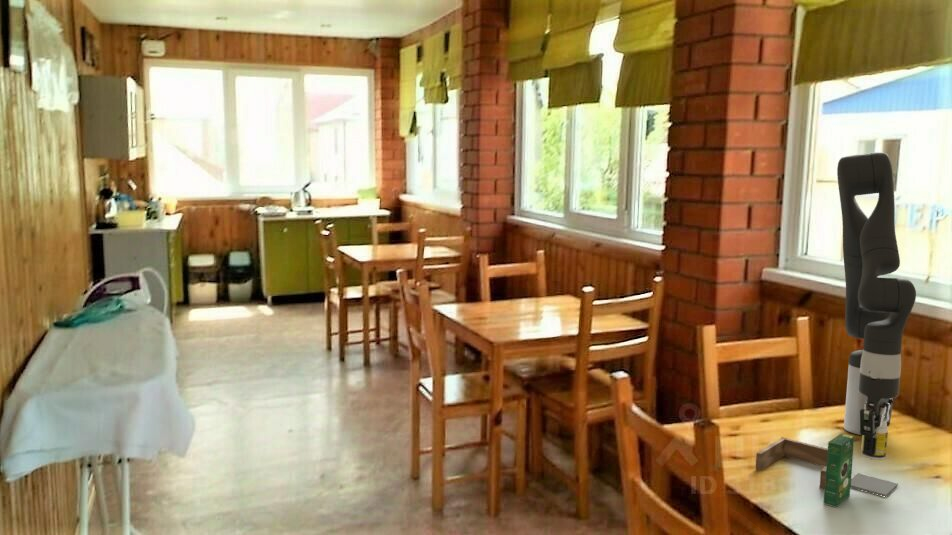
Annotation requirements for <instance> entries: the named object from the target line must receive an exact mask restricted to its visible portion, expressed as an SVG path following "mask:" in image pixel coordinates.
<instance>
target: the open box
mask: <svg viewBox="0 0 952 535" xmlns="http://www.w3.org/2000/svg"><path fill="white" fill-rule="evenodd" d="M827 453H828V447H827V448H825V447H823V446H819V445H814V444H811V443H807V442H802V441H798V440H794V439H791V438H786V437H783V436H782V437H780V438H779V439H777V440H776V441H774V442H772V443H771V444H769V445H767V446H766V447H763V448H761V449H760V450H759V451H757V452H756V456H755V457H756V458H755V471H759V472H761V471H762V470H764V469H766V468H767V467H768V466H770V465H772V464H773V463H775V462H776V461H778V460H779V458H780V459H781V458H783V457H788V458H790V457H791V459H795V460H798V461H803V462H805V463H810V464H813V465H816V464H817V466H821V467H823V468H822V469H820V480H819V489H821V490H824V491H825V479H826V466H827ZM782 456H783V457H782Z"/></svg>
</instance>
